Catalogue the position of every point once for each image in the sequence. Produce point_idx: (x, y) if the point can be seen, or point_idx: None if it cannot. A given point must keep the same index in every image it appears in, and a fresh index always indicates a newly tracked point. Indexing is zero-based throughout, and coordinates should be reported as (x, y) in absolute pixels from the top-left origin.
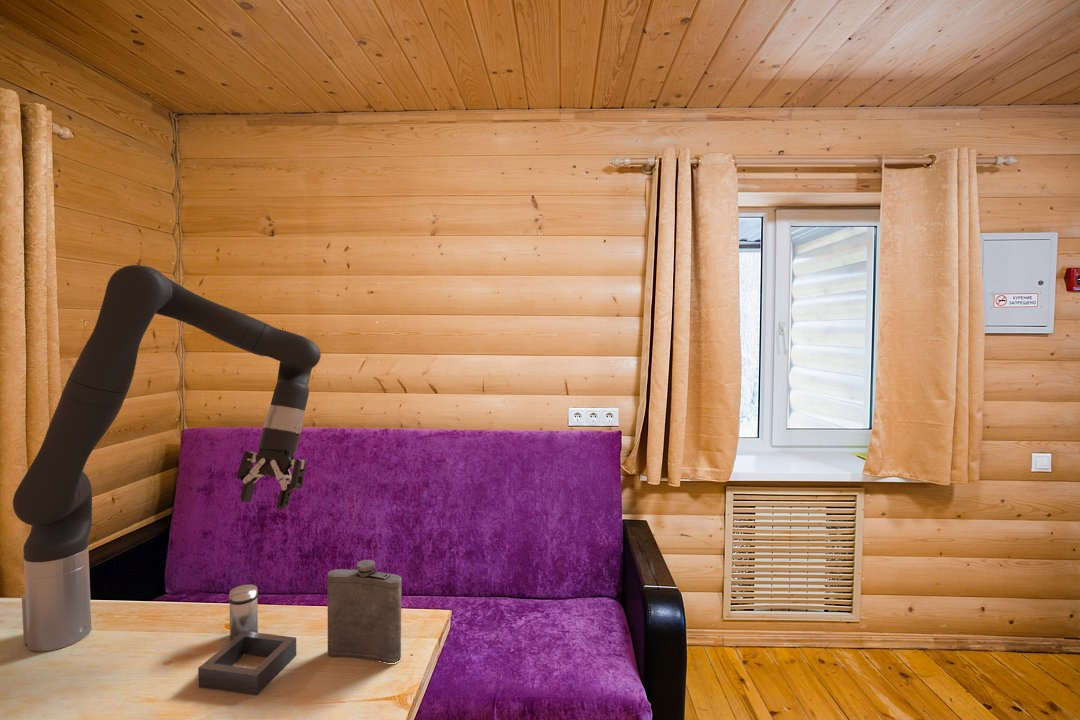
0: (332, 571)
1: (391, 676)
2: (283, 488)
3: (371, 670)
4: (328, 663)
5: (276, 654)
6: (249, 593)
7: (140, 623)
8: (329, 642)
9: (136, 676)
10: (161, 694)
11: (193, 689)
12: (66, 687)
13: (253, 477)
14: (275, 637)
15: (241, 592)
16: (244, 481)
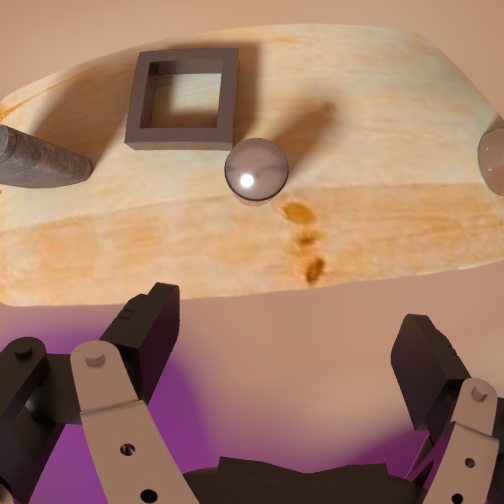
0: (2, 145)
1: None
2: (105, 351)
3: None
4: (83, 144)
5: (134, 95)
6: (232, 156)
7: (445, 204)
8: (76, 154)
9: (346, 77)
10: (280, 48)
11: (243, 59)
12: (408, 62)
13: (443, 432)
14: (159, 135)
15: (255, 158)
16: (481, 381)
